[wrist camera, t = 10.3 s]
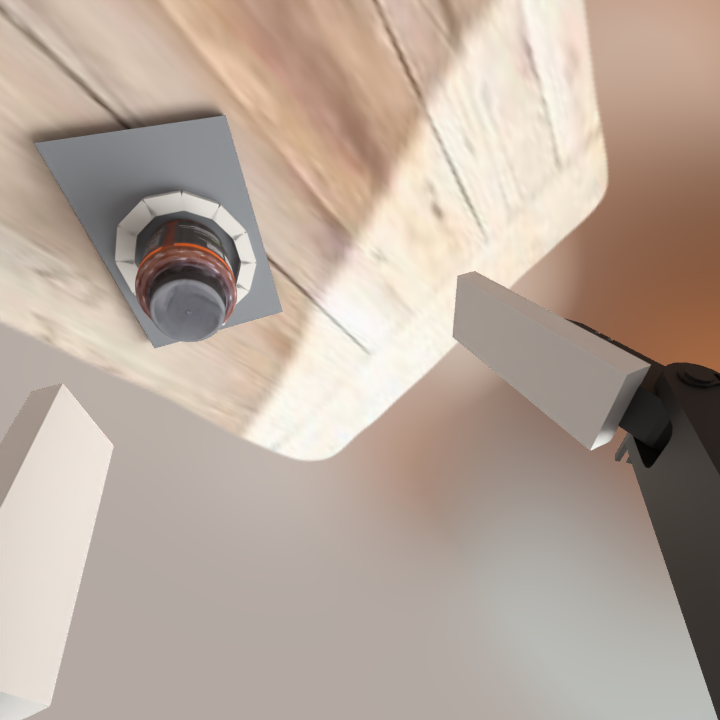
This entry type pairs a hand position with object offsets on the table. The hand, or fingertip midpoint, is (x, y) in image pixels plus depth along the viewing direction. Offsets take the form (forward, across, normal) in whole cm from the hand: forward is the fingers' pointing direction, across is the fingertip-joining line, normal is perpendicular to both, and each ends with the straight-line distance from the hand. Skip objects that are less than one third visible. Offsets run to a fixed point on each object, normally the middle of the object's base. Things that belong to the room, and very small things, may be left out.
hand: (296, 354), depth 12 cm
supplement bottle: (+22, -4, -2) cm, 22 cm away
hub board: (+23, -4, -1) cm, 23 cm away
